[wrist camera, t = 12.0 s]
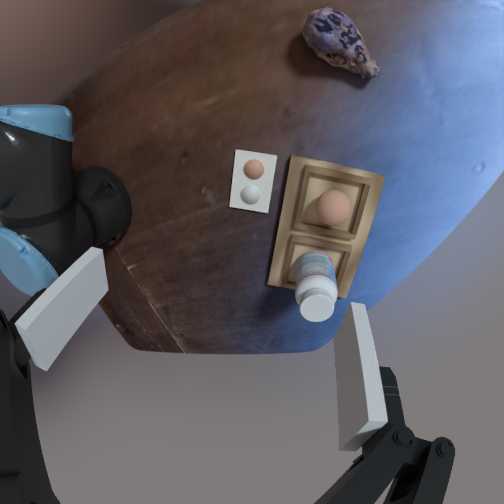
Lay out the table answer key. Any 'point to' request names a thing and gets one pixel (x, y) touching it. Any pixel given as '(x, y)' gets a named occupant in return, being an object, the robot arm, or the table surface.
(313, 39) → the skull
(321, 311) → the pill bottle
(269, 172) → the card
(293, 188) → the tray
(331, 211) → the egg
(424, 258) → the table surface
